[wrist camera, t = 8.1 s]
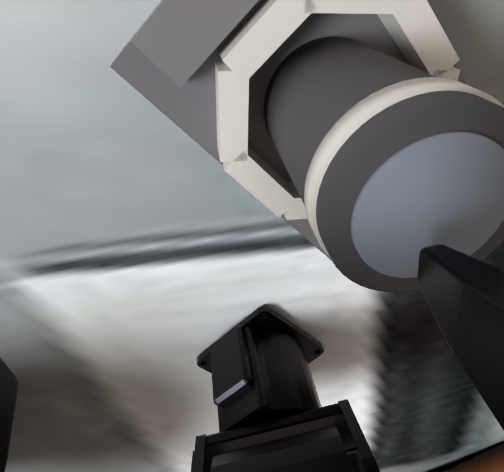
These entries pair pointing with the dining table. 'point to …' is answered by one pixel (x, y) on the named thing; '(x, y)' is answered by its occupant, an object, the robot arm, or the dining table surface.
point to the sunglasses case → (483, 462)
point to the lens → (387, 159)
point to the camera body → (262, 72)
